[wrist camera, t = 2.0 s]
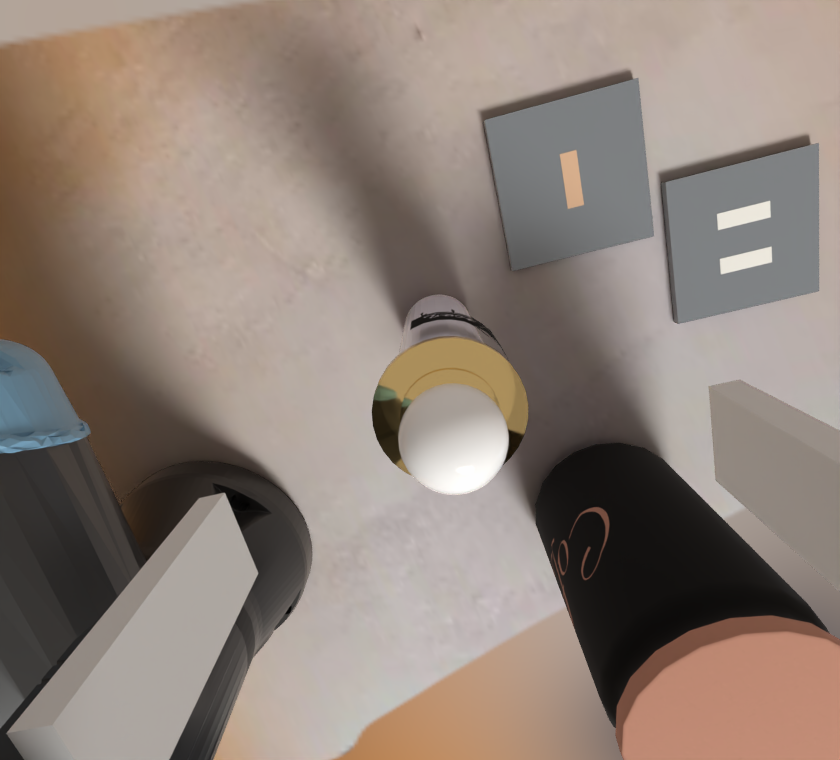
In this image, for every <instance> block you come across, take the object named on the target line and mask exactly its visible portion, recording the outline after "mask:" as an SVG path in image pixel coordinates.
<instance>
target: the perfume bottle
mask: <svg viewBox="0 0 840 760" xmlns="http://www.w3.org/2000/svg"><path fill="white" fill-rule="evenodd" d="M473 320H474V322H475V321H476V322H475V323H474V322H473ZM482 325H483V324H482V323H480V322H479V321H477V320H475V319H474V318H472V317H471V316H470V314H469V312H468V310H467V309H466V307H465V306H464V305H463V304H462V303H461V302H460V301H458V300H457V299H455V298H453V297H450V296H447V295H431V296H427V297H425V298H423V299H421V300H419V301H418V302H417V303H415V305H414V306H413V307H412V308H411V309H410V311H409V313H408V314H407V317H406V320H405V325H404V330H403V335H402V340H401V346H400V351H399V355H398V356H397V357H396V358H395V359H394V360H393V361H392V362H391V363H390V364H389V365H388V366H387V368H386V370H385V371H384V373H383V374H382V376H381V378H380V380H379V383H378V386H377V388H376V391H375V394H374V399H373V407H372V419H373V427H374V431H375V434H376V437H377V440H378V442H379V444H380V446H381V447H382V449H383V451H384V452H385V454H386V455H387V456H388V457H389V458H390V460H391V461H392V462H393V463H394V464H395V465H397V466H398V467H399V468H400V469H401V470H403V471H404V472H406V473H408V474H409V475H411V476H413V477H414V478H415V479H416V480H417V481H418V482H419V483H420V484H422V485H423V486H425V487H427V488H429V489H430V490H433V491H436V492H439V493H442V494H448V495H461V494H466V493H470V492H473V491H475V490H478V489H479V488H481V487H483V486H484V485H486V484H487V483H489V482H490V481H491V480H492V479H493V478H494V477H495V476H496V475H497V473H498V472H499V471H500V469H501V468H502V465H503V464H504V463H505V462H507V461H508V460H509V459H510V458H511V456H512V455H513V454H514V452H515V451H516V450H517V448H518V447H519V445H520V443H521V441H522V438H523V436H524V434H525V430H526V426H527V422H528V401H527V395H526V391H525V388H524V386H523V384H522V381H521V379H520V377H519V375H518V374H517V372H516V371H515V369H514V368H513V366H512V365H511V364H510V362H509V360H507V359H508V358H507V359H506V358H505V357H504V356H503V355H502V354H501V353H499V352H498V351H497V350H495V349H494V348H492V347H490V346H489V345H487V344H485V343H484V342H483V340H482V338H481V336H480V334H479V332H478V330H477V328H478V327H479V328H480V327H481V328H482V327H484V328H482V330H485V332H486V331H487V333H488V334H489V335H490V336H491V337H493V338H494V339H495V337H494V336H493V334H492V332H491V330H488V329H487V328H486V327H485V326H484V325H483V326H482ZM476 326H477V327H476ZM479 328H478V329H479ZM481 328H480V329H481ZM485 328H486V329H485ZM480 329H479V330H480ZM482 330H481V331H482ZM489 331H490V332H489ZM482 332H483V331H482ZM483 333H484V332H483ZM487 336H488V335H487ZM495 340H496V339H495ZM496 341H497V340H496ZM497 342H498V341H497ZM498 344H499V343H498ZM499 345H500V344H499ZM500 347H501V346H500ZM501 348H502V347H501ZM502 350H503V349H502ZM503 352H504V351H503ZM504 353H505V352H504ZM505 355H506V354H505ZM506 357H507V356H506Z"/></svg>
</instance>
